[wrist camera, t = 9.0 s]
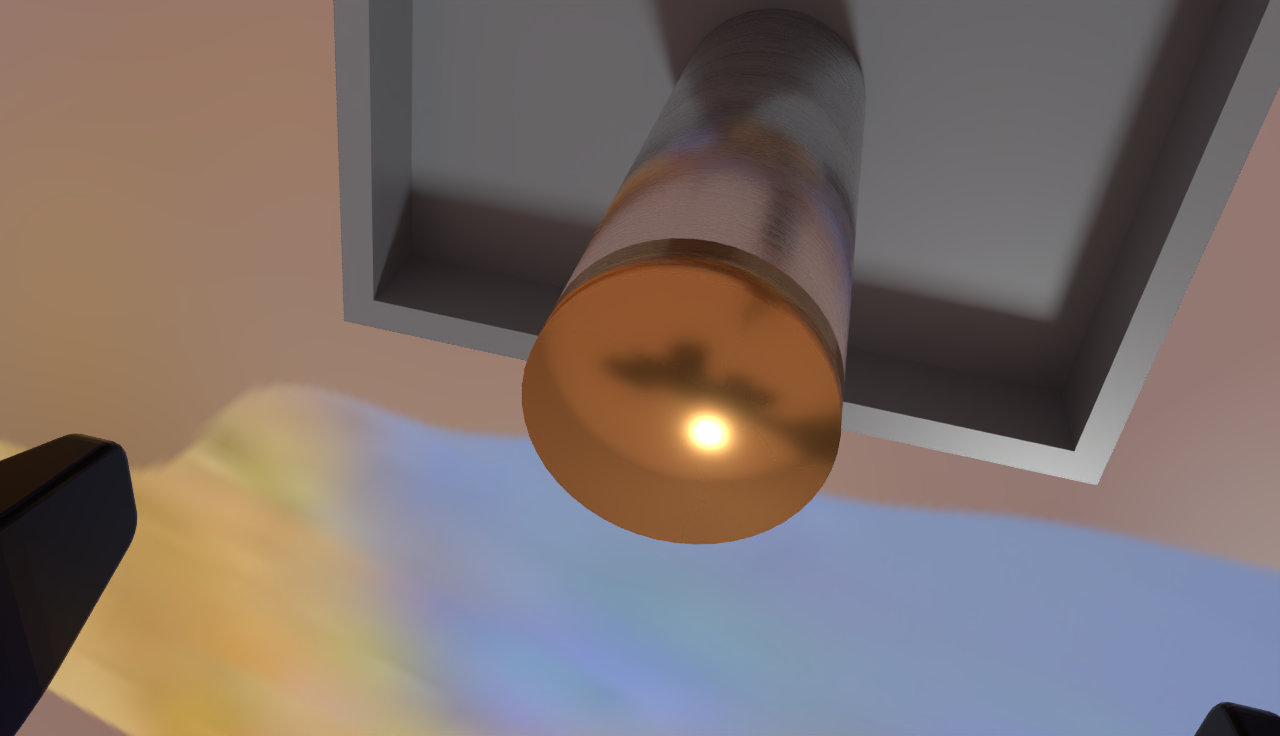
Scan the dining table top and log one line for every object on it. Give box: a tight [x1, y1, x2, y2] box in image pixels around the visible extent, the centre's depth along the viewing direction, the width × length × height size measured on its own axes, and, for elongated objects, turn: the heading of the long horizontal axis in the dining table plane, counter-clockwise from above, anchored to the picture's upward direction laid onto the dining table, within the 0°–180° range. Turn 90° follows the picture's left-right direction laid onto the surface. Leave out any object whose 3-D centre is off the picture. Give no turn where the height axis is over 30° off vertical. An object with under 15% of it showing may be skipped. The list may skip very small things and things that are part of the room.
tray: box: [333, 0, 1280, 485], centre depth 19 cm, size 14×10×2 cm
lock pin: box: [522, 8, 866, 544], centre depth 15 cm, size 3×3×10 cm
